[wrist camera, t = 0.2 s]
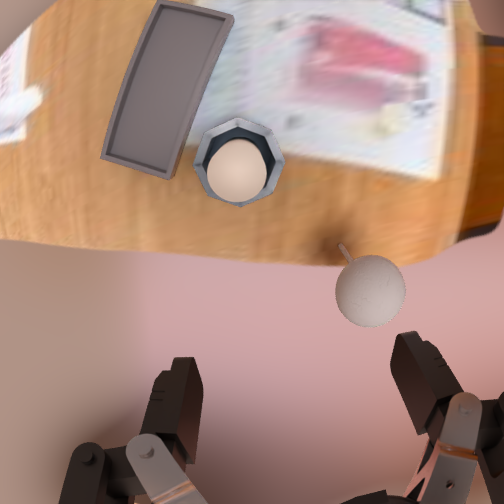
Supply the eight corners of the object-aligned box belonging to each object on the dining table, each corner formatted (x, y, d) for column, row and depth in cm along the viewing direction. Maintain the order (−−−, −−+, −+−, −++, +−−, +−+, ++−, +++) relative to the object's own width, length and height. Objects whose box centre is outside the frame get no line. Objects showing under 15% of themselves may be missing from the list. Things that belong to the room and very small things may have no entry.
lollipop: (306, 262, 40) (333, 336, 26) (325, 212, 37) (368, 268, 24) (353, 275, 41) (394, 346, 27) (373, 228, 38) (429, 286, 24)
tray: (163, 5, 26) (157, -1, 24) (234, 21, 28) (233, 15, 25) (108, 155, 34) (99, 158, 31) (174, 176, 35) (169, 180, 33)
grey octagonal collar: (219, 111, 32) (213, 108, 26) (285, 135, 33) (295, 139, 27) (196, 175, 35) (185, 187, 29) (260, 197, 36) (263, 215, 30)
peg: (228, 130, 32) (218, 136, 21) (265, 144, 33) (275, 156, 22) (215, 167, 34) (199, 190, 23) (251, 180, 35) (253, 210, 24)
